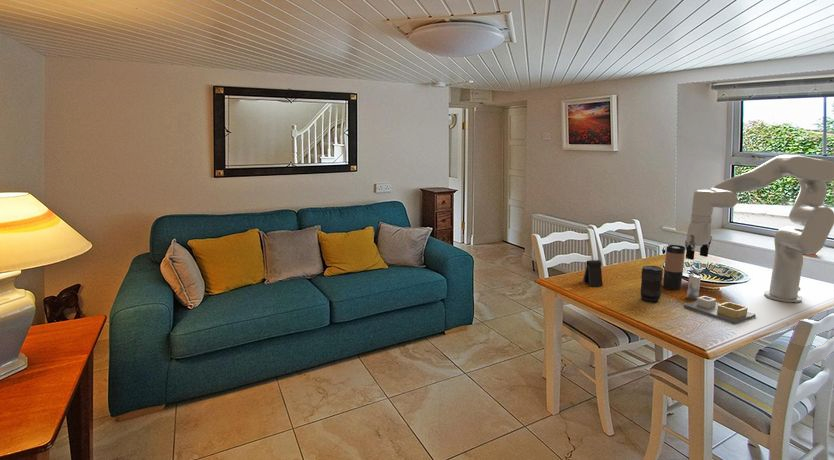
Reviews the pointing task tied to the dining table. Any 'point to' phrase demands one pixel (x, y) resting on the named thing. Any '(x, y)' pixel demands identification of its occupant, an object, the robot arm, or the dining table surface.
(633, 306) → the dining table surface
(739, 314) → the fitting board
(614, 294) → the dining table surface
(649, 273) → the camera lens
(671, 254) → the travel mug
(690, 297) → the light grey rectangular block
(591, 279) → the door stopper
